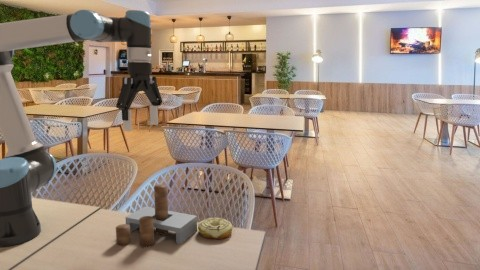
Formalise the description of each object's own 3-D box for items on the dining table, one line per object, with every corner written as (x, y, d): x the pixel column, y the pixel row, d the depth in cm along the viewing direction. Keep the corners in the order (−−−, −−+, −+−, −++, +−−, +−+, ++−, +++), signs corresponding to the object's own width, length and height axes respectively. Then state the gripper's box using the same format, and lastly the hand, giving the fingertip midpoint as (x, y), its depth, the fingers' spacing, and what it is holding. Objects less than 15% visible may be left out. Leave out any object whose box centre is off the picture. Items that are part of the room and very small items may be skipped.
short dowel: (113, 244, 111) (112, 228, 110) (122, 238, 114) (122, 223, 114) (124, 246, 109) (123, 230, 108) (133, 241, 113) (132, 225, 112)
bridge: (126, 232, 119) (125, 217, 118) (145, 220, 128) (145, 206, 127) (180, 244, 111) (180, 228, 110) (197, 230, 120) (196, 215, 119)
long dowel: (153, 232, 119) (151, 187, 116) (160, 227, 122) (159, 183, 119) (163, 234, 117) (162, 189, 114) (170, 229, 121) (169, 185, 118)
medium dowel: (137, 245, 110) (136, 220, 108) (145, 240, 114) (144, 215, 112) (148, 248, 108) (147, 222, 107) (156, 242, 112) (156, 217, 111)
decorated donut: (218, 244, 112) (218, 232, 111) (191, 234, 118) (191, 223, 117) (238, 231, 120) (238, 220, 119) (212, 223, 126) (212, 213, 125)
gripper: (121, 61, 107) (124, 134, 111) (171, 62, 129) (172, 123, 133) (101, 60, 110) (105, 132, 114) (153, 62, 132) (155, 121, 136)
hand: (141, 127), depth 123 cm, fingers open, 13 cm apart
